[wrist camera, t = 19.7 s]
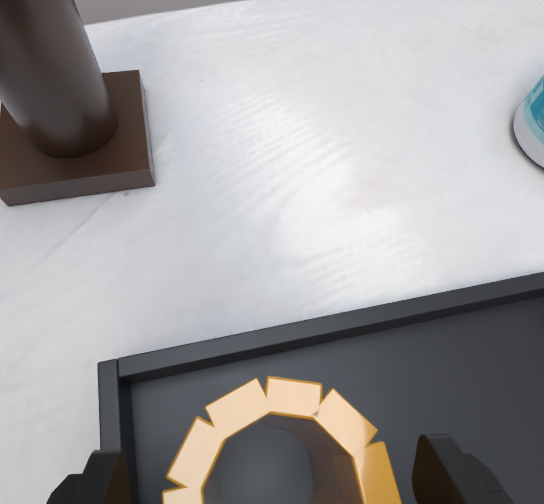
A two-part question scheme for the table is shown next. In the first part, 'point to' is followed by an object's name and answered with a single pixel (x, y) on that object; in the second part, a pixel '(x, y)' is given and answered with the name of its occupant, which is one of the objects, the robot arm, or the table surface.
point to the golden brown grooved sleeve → (302, 426)
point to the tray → (350, 391)
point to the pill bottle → (532, 123)
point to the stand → (65, 110)
